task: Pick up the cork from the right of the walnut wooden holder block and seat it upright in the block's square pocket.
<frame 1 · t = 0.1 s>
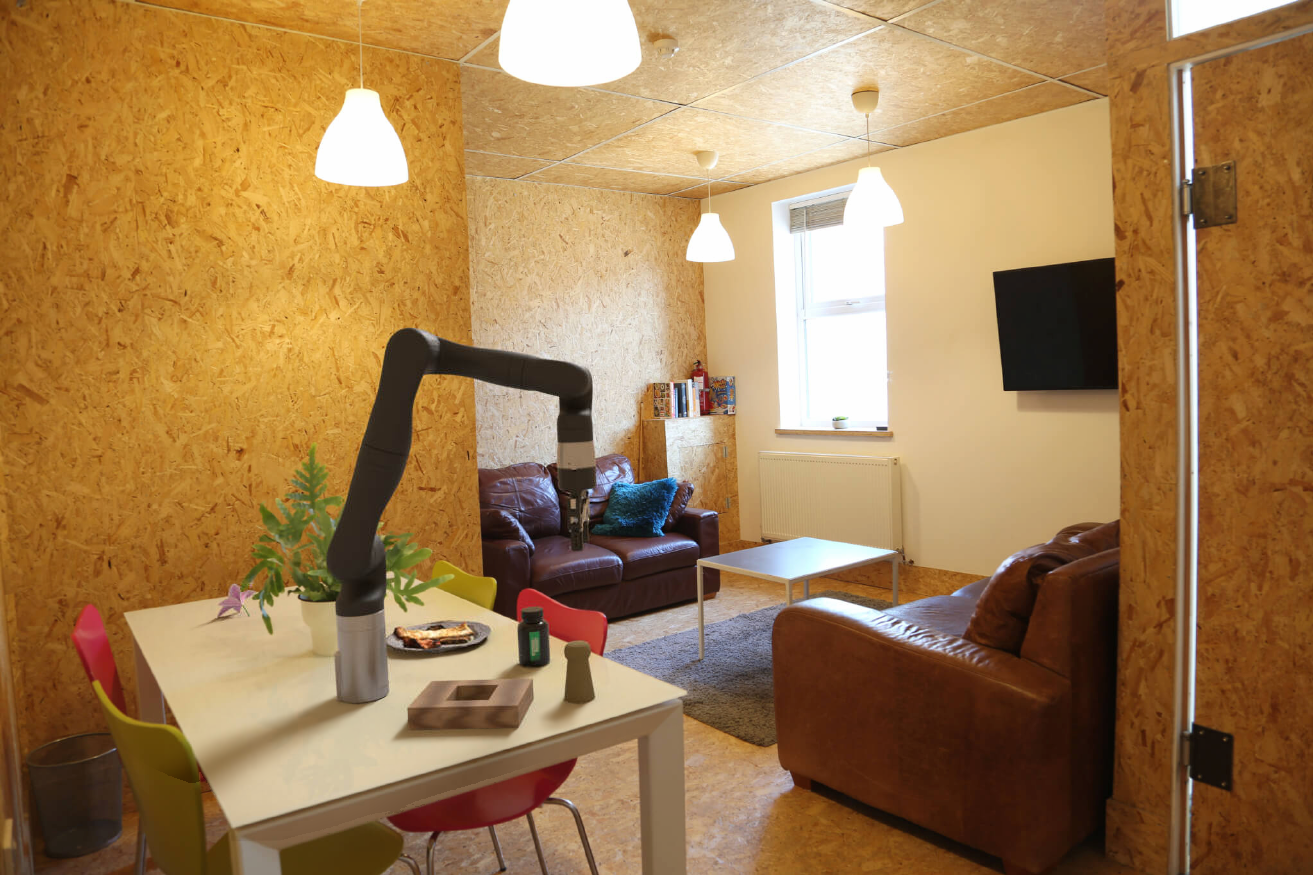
hand: (580, 546, 168), 29 cm above the table, tool pointing down, fingers open, 8 cm apart
holder block: (473, 713, 159), on the table
lily: (238, 616, 242), on the table
food plate: (438, 643, 207), on the table
cork: (579, 698, 166), on the table
supplement bottle: (534, 663, 188), on the table
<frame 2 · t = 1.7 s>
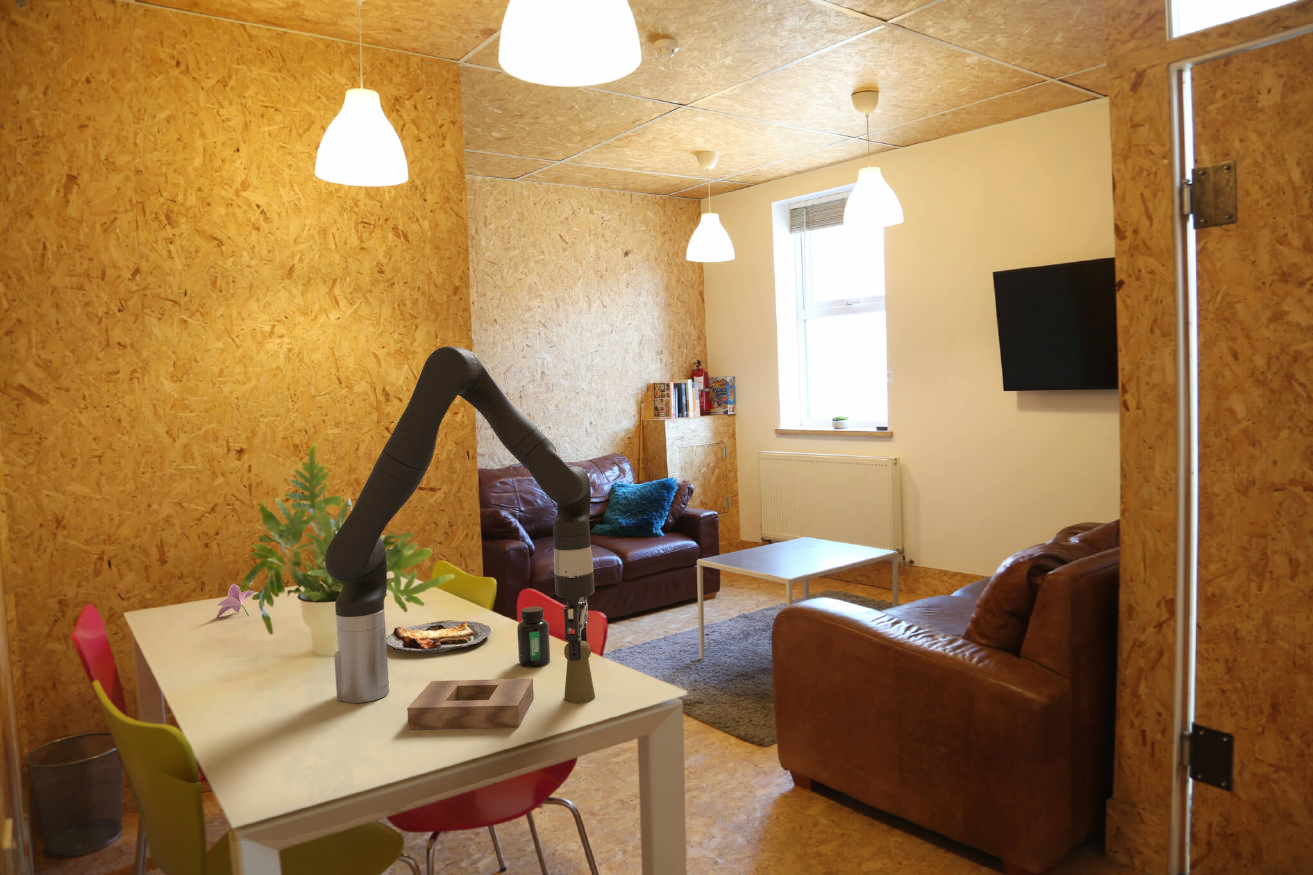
hand: (578, 652, 165), 9 cm above the table, tool pointing down, fingers open, 8 cm apart
nothing on the table moved.
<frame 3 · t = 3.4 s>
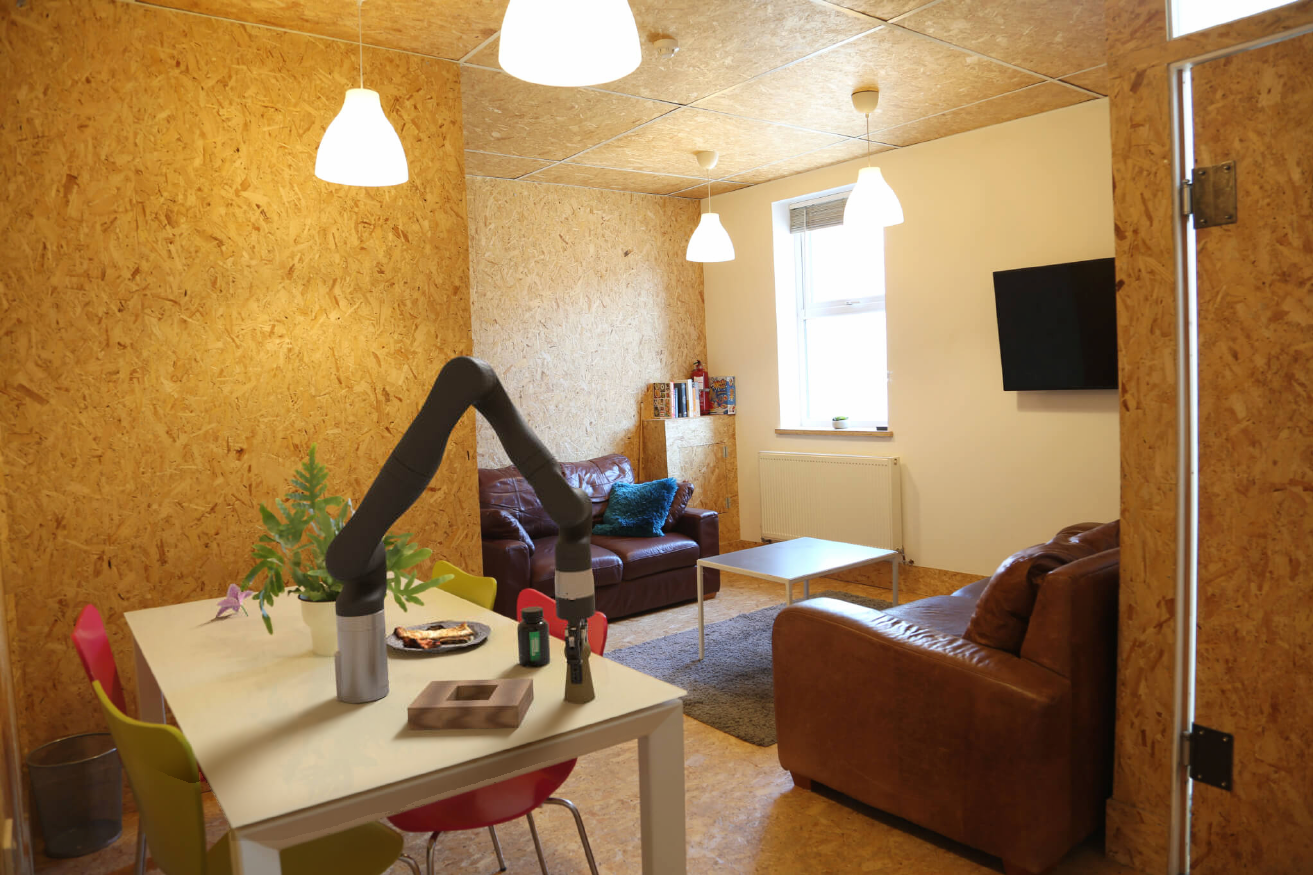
hand: (578, 678, 165), 4 cm above the table, tool pointing down, fingers closed on cork, 4 cm apart
cork: (579, 698, 166), on the table, touching gripper
everything else where it was.
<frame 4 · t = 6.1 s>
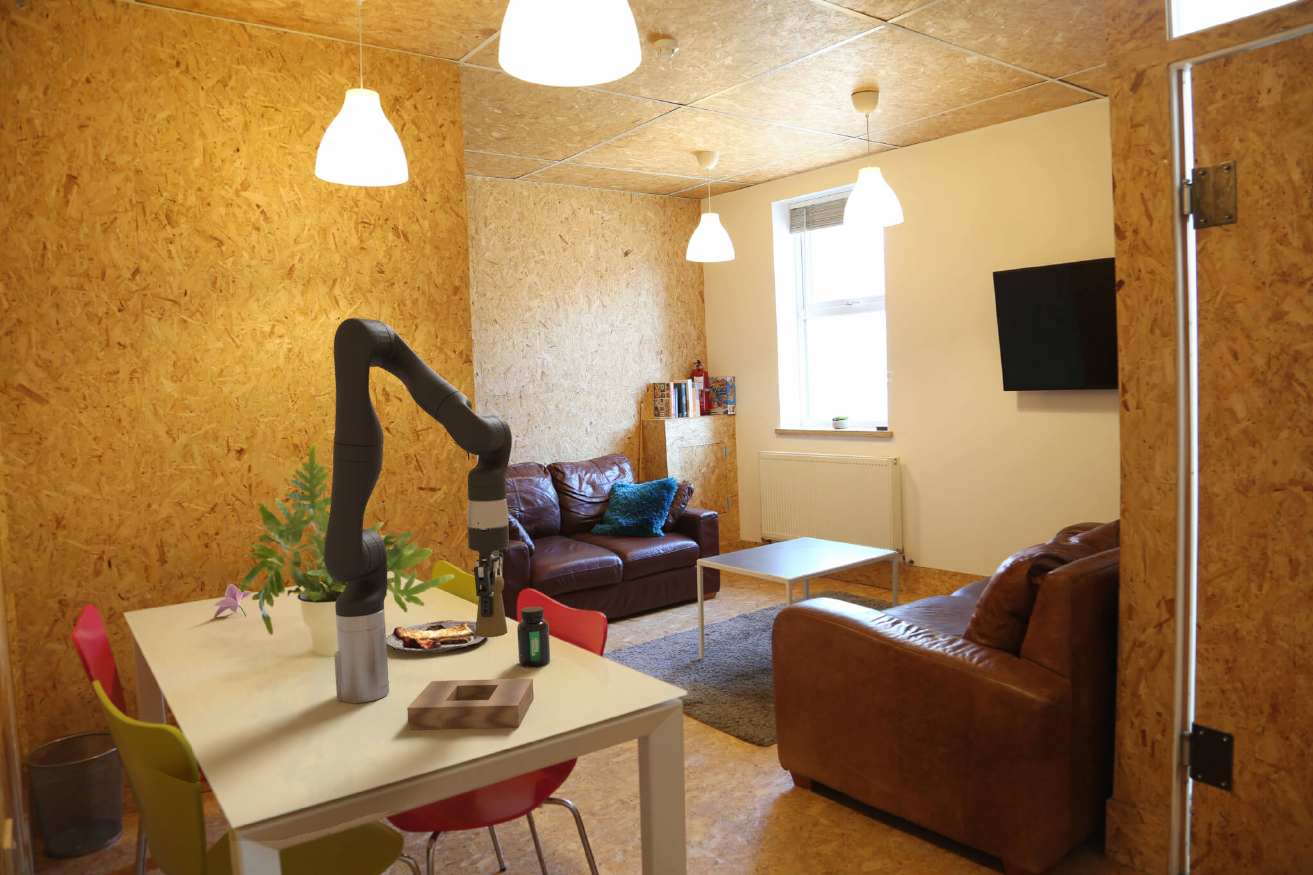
hand: (490, 612, 160), 19 cm above the table, tool pointing down, fingers closed on cork, 4 cm apart
cork: (491, 633, 160), point 15 cm above the table, touching gripper
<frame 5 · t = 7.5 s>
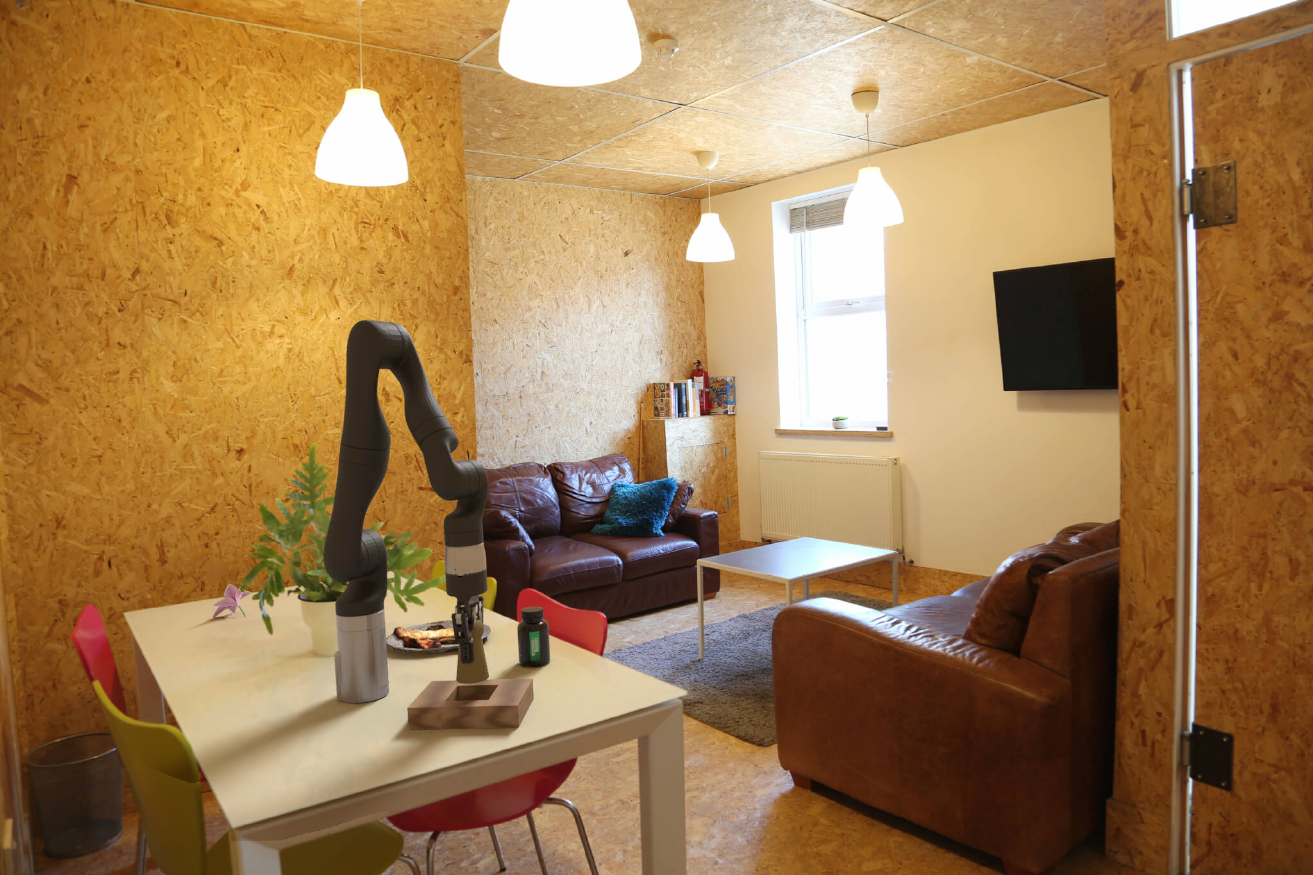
hand: (471, 658, 159), 11 cm above the table, tool pointing down, fingers closed on cork, 4 cm apart
cork: (472, 679, 159), point 7 cm above the table, touching gripper
when the fingers open (6 cm above the table, at t = 8.9 s): cork drops 1 cm, resting on holder block.
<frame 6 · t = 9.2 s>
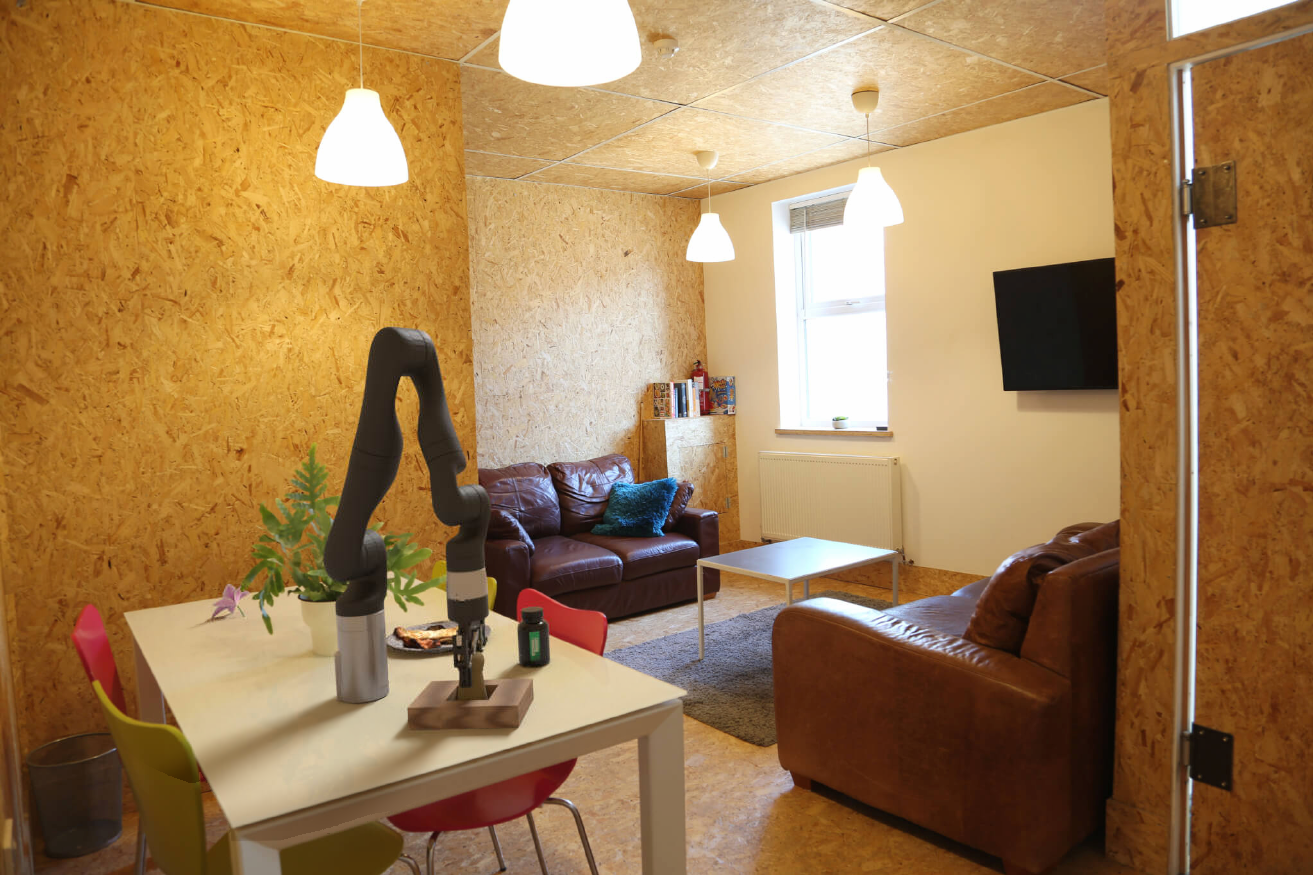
hand: (471, 679, 159), 6 cm above the table, tool pointing down, fingers open, 7 cm apart
cork: (473, 711, 159), resting on holder block
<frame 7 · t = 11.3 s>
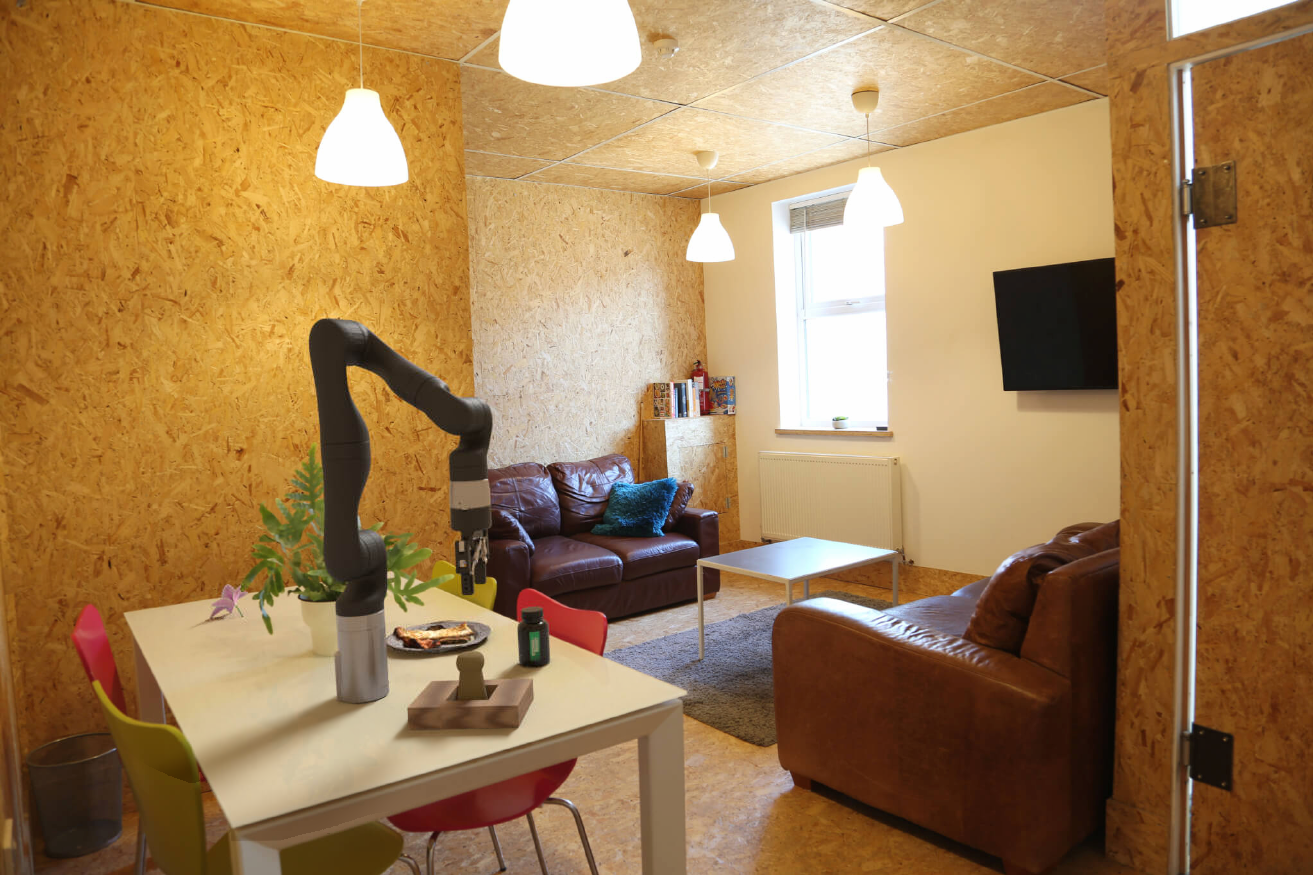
hand: (474, 589, 160), 23 cm above the table, tool pointing down, fingers open, 8 cm apart
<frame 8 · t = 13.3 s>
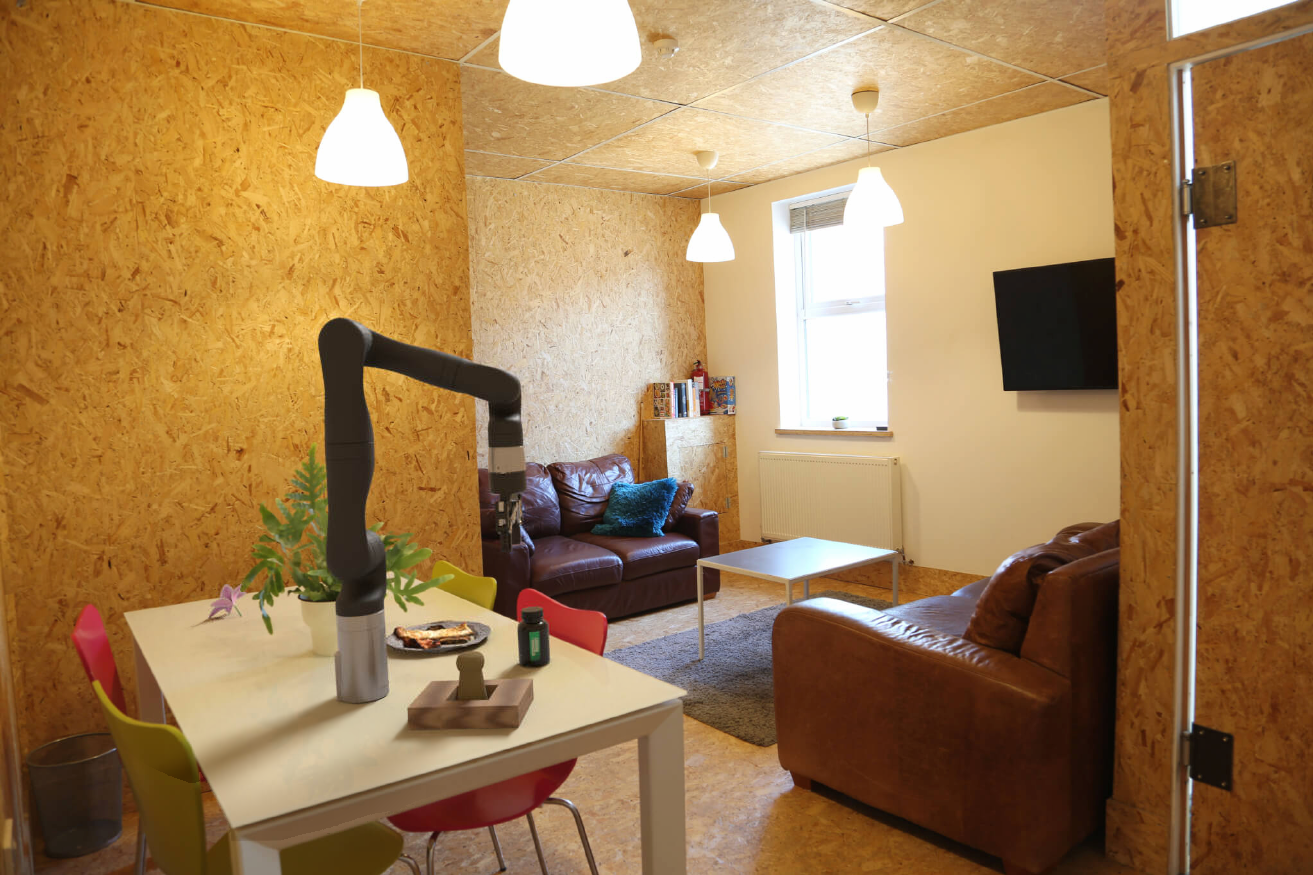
hand: (511, 547, 174), 28 cm above the table, tool pointing down, fingers open, 8 cm apart
at the end: cork 0.1 cm off-centre on the holder block, point 0.4 cm above the holder block's base; cork tilted 0°; the gripper is holding nothing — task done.
